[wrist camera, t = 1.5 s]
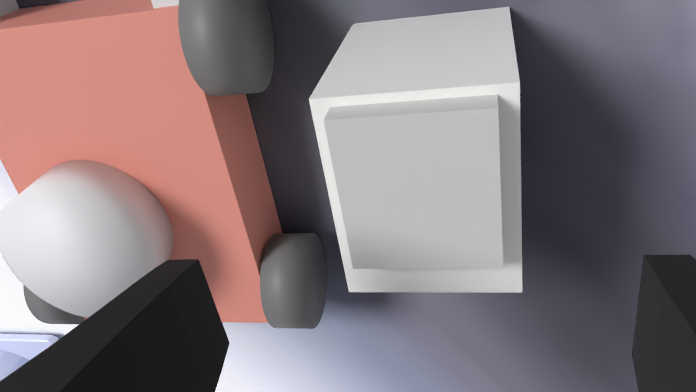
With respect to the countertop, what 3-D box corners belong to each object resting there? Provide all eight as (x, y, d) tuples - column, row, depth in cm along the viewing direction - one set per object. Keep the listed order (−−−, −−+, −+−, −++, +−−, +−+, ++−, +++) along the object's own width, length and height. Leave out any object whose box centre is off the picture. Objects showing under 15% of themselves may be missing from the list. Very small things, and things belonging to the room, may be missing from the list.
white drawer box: (512, 178, 17) (523, 311, 13) (378, 183, 18) (344, 309, 14) (508, 6, 15) (521, 95, 10) (353, 23, 16) (301, 112, 11)
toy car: (331, 285, 21) (301, 379, 17) (94, 285, 23) (26, 368, 20) (167, -440, 12) (33, -547, 8) (-203, -319, 14) (-429, -361, 10)
